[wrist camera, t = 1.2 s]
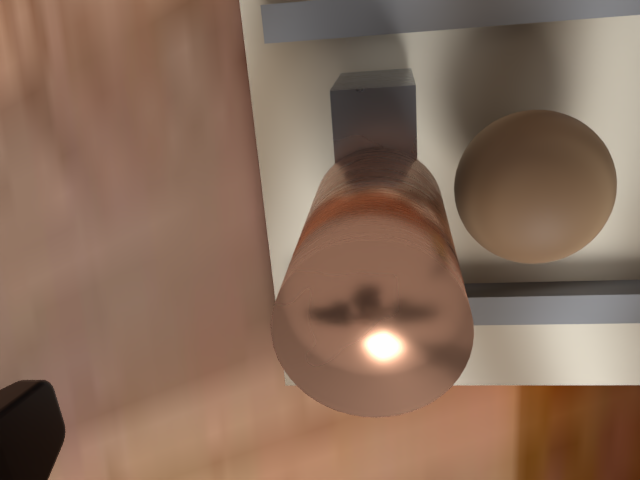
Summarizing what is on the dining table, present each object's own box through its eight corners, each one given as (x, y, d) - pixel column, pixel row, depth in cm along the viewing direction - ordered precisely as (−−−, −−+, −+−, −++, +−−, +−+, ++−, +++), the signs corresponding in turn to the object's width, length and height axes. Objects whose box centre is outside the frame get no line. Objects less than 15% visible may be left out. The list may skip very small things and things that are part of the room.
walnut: (594, 93, 16) (654, 121, 13) (582, 228, 18) (632, 288, 14) (447, 102, 17) (463, 132, 13) (447, 233, 18) (461, 292, 15)
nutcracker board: (828, -170, 15) (1108, -276, 9) (722, 359, 21) (853, 502, 15) (239, -105, 17) (158, -158, 11) (292, 362, 23) (257, 488, 17)
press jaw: (432, 66, 17) (477, 142, 8) (434, 259, 19) (470, 483, 10) (320, 74, 17) (248, 154, 9) (334, 263, 20) (289, 479, 11)
